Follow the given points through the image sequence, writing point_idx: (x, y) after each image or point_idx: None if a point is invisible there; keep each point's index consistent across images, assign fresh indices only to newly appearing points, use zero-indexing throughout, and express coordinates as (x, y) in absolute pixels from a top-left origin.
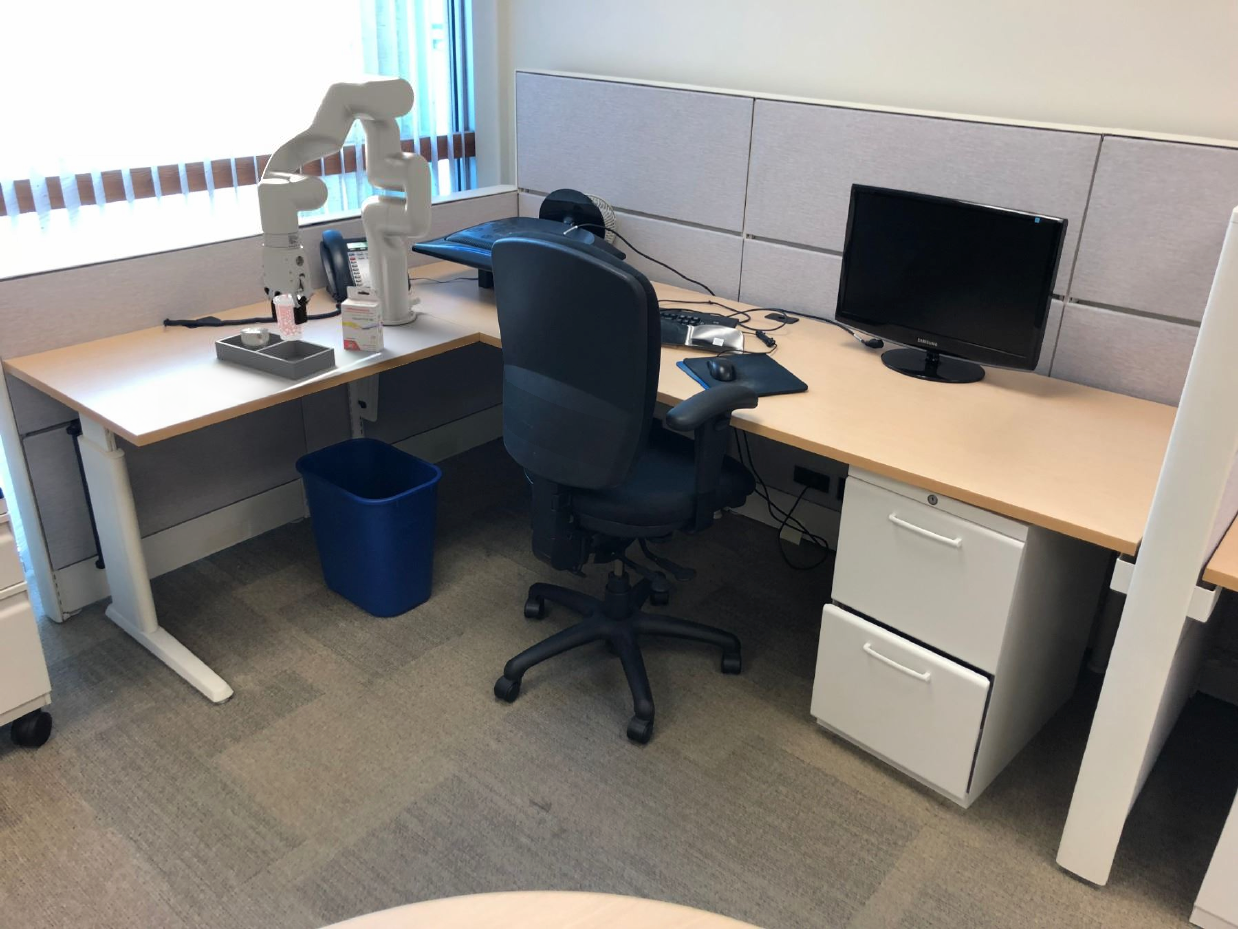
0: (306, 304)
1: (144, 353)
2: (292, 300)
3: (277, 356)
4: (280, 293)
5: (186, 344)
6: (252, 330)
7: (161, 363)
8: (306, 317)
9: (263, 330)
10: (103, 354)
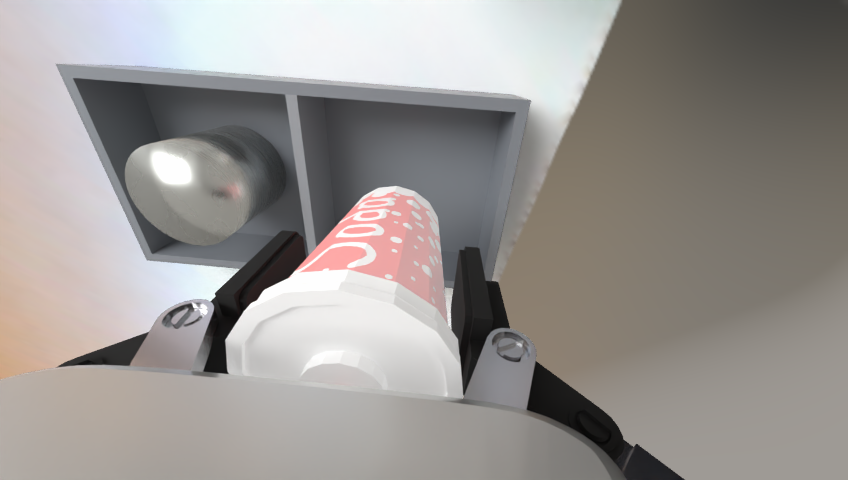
0: (526, 351)
1: (46, 275)
2: (412, 392)
3: (324, 176)
4: (207, 356)
5: (8, 182)
6: (169, 196)
7: (139, 300)
8: (498, 284)
9: (196, 174)
10: (15, 313)
